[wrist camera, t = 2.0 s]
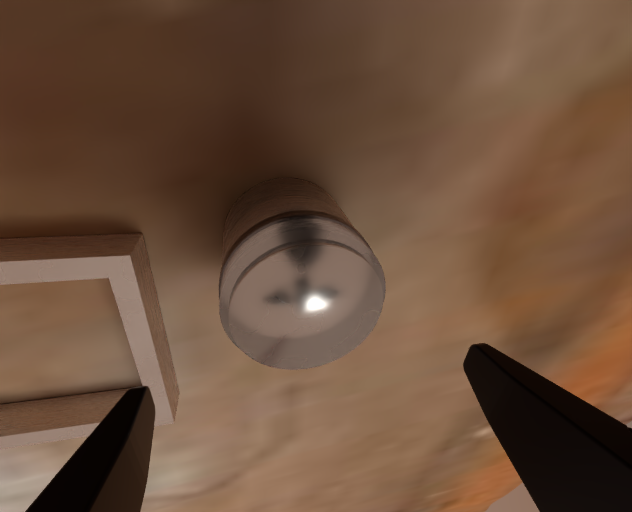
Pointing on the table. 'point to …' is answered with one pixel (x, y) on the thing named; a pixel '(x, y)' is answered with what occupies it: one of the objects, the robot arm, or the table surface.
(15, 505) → the table surface
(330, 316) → the piston
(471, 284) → the table surface
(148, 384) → the grey square frame
